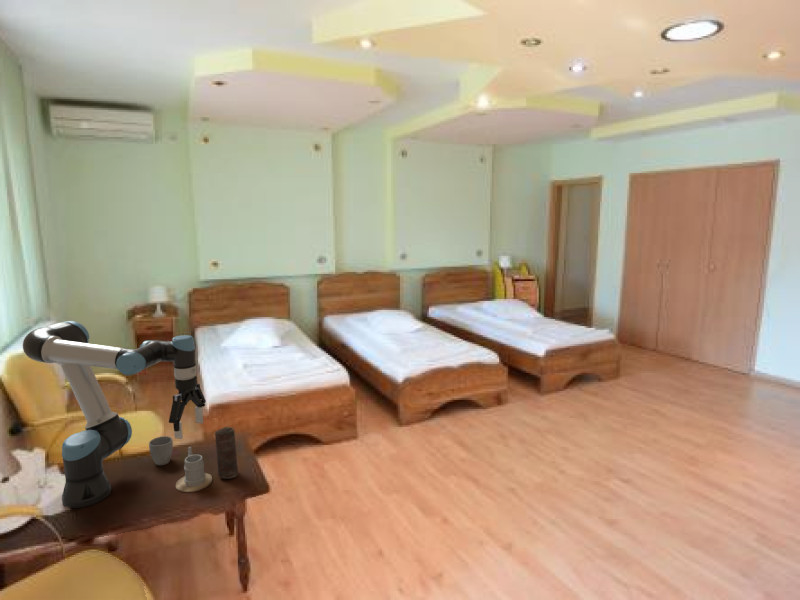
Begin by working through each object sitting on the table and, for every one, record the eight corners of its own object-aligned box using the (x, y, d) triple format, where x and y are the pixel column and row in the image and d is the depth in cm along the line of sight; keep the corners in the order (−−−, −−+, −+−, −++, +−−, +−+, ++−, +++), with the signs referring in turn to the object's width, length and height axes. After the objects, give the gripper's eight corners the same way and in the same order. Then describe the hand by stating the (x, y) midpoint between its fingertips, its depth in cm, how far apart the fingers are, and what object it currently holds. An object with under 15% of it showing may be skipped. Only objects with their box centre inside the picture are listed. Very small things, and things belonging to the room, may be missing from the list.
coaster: (168, 490, 181) (168, 489, 180) (188, 472, 193) (187, 471, 193) (200, 493, 179) (200, 492, 179) (218, 475, 192) (218, 473, 191)
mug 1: (176, 463, 201) (174, 441, 199) (152, 469, 195) (150, 447, 194) (170, 452, 210) (168, 431, 208) (147, 457, 205) (145, 436, 203)
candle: (222, 483, 186) (218, 435, 182) (214, 475, 191) (211, 428, 188) (241, 476, 191) (238, 429, 187) (233, 469, 196) (230, 423, 193)
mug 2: (187, 489, 180) (184, 460, 178) (180, 476, 190) (178, 447, 188) (208, 483, 185) (206, 454, 183) (200, 470, 194) (198, 442, 192)
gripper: (174, 389, 166) (178, 446, 170) (212, 367, 190) (215, 417, 194) (154, 388, 167) (159, 444, 171) (195, 366, 191) (198, 416, 195)
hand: (189, 430), depth 182 cm, fingers open, 13 cm apart
